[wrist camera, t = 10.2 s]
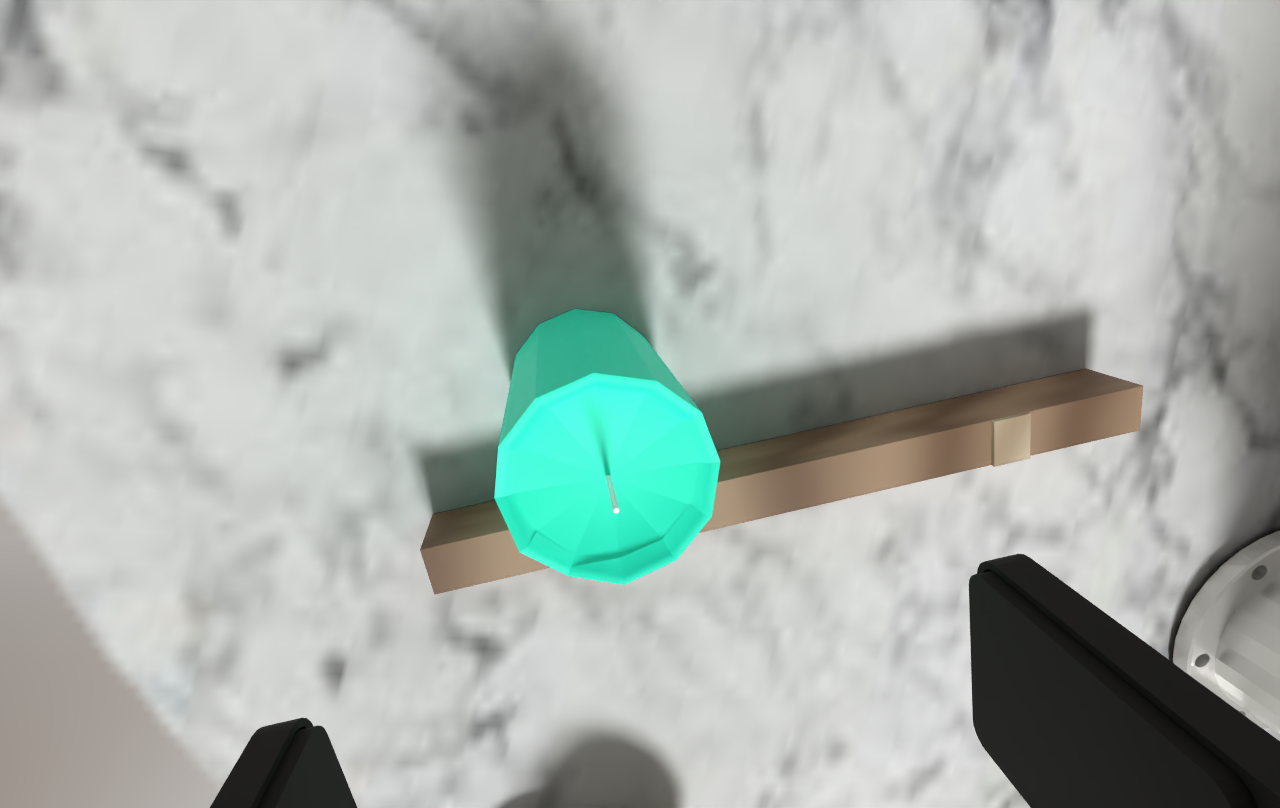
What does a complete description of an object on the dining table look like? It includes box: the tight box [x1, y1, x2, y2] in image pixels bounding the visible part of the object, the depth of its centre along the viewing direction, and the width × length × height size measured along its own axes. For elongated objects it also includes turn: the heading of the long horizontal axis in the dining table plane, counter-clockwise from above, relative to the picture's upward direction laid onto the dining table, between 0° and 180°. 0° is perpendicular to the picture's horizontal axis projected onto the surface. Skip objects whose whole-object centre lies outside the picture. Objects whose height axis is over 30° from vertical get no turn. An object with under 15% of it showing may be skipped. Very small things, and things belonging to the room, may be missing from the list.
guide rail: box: [420, 369, 1143, 594], centre depth 27 cm, size 30×2×3 cm, turn 100°
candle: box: [494, 309, 720, 585], centre depth 21 cm, size 6×6×12 cm
